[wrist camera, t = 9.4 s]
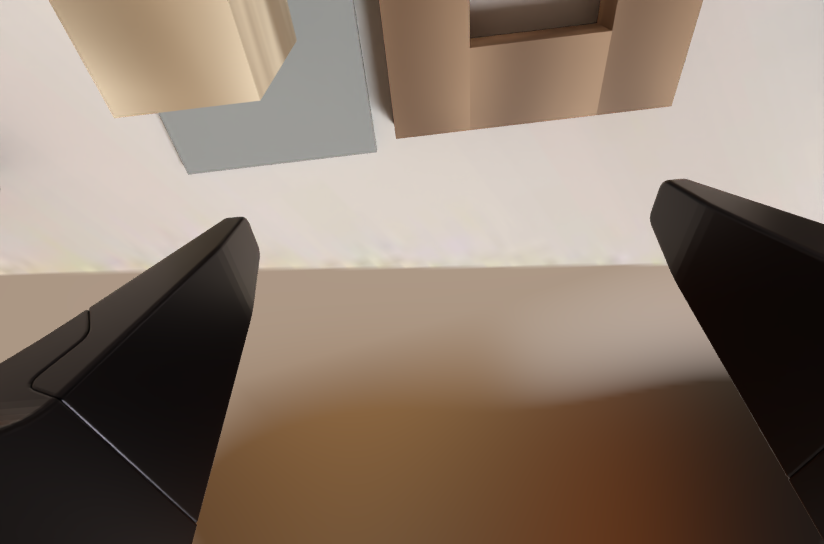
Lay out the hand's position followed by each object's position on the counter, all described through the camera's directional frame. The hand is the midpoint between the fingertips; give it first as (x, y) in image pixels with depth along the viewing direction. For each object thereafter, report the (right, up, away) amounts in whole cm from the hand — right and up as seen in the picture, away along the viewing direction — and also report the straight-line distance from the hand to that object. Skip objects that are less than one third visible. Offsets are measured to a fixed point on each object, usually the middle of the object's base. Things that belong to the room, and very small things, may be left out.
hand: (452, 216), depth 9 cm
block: (-8, +9, +6) cm, 13 cm away
